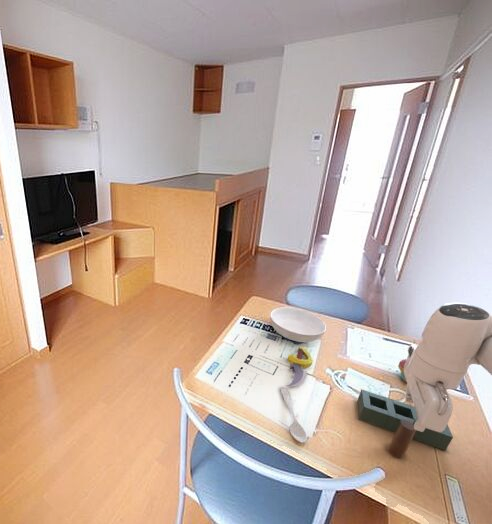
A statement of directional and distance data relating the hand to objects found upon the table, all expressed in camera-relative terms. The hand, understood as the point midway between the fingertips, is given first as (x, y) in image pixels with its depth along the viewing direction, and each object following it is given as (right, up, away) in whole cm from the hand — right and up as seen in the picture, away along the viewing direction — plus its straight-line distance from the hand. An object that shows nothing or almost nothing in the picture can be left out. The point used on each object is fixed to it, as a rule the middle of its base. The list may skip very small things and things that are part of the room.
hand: (412, 413), depth 74 cm
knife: (-11, -1, +33) cm, 35 cm away
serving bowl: (-2, +7, +53) cm, 54 cm away
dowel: (0, -13, +5) cm, 14 cm away
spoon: (-22, -8, +16) cm, 28 cm away
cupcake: (+25, -3, +29) cm, 39 cm away
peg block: (+7, -10, +13) cm, 18 cm away
